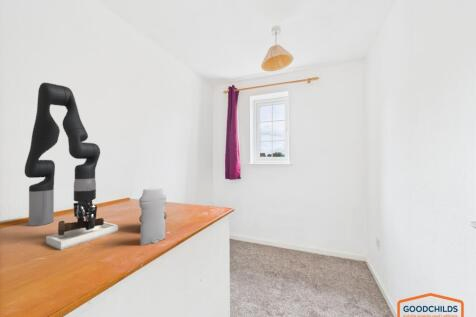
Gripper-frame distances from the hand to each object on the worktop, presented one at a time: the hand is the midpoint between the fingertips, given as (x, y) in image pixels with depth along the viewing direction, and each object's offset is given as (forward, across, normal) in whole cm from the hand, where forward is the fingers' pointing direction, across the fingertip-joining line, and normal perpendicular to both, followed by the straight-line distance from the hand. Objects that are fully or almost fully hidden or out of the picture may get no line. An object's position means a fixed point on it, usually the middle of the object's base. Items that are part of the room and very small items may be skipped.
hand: (84, 228), depth 84 cm
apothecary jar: (+4, +18, +20) cm, 27 cm away
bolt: (+1, 0, -1) cm, 1 cm away
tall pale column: (+4, +30, +10) cm, 32 cm away
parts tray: (+4, 0, 0) cm, 4 cm away
